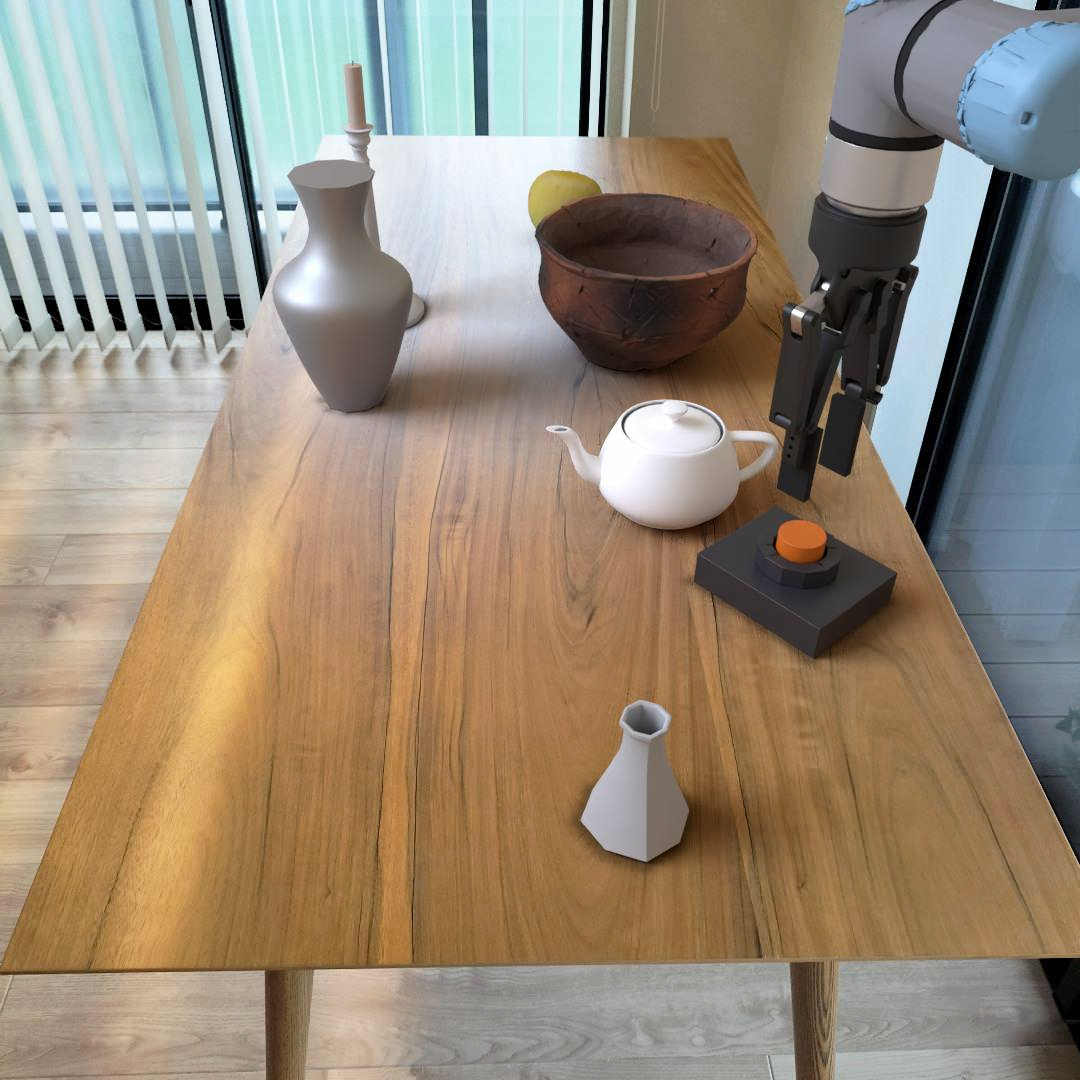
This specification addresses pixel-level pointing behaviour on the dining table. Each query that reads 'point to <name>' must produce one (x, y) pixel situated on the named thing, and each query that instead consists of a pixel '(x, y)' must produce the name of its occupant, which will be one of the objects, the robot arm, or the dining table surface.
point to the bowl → (642, 275)
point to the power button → (801, 541)
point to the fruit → (557, 192)
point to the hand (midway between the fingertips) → (813, 480)
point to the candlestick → (367, 160)
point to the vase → (342, 290)
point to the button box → (794, 583)
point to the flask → (638, 790)
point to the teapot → (668, 463)
